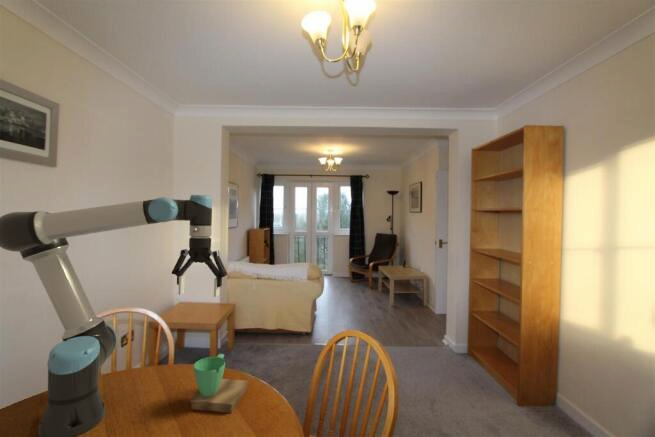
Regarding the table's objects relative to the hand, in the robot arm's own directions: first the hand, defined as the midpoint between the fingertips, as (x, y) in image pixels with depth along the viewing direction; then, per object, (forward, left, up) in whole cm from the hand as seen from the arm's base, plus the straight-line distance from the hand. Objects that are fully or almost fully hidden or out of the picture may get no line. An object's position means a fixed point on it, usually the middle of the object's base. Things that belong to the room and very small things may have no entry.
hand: (198, 294), depth 115 cm
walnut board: (+13, -8, -33) cm, 36 cm away
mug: (+10, -8, -30) cm, 33 cm away
